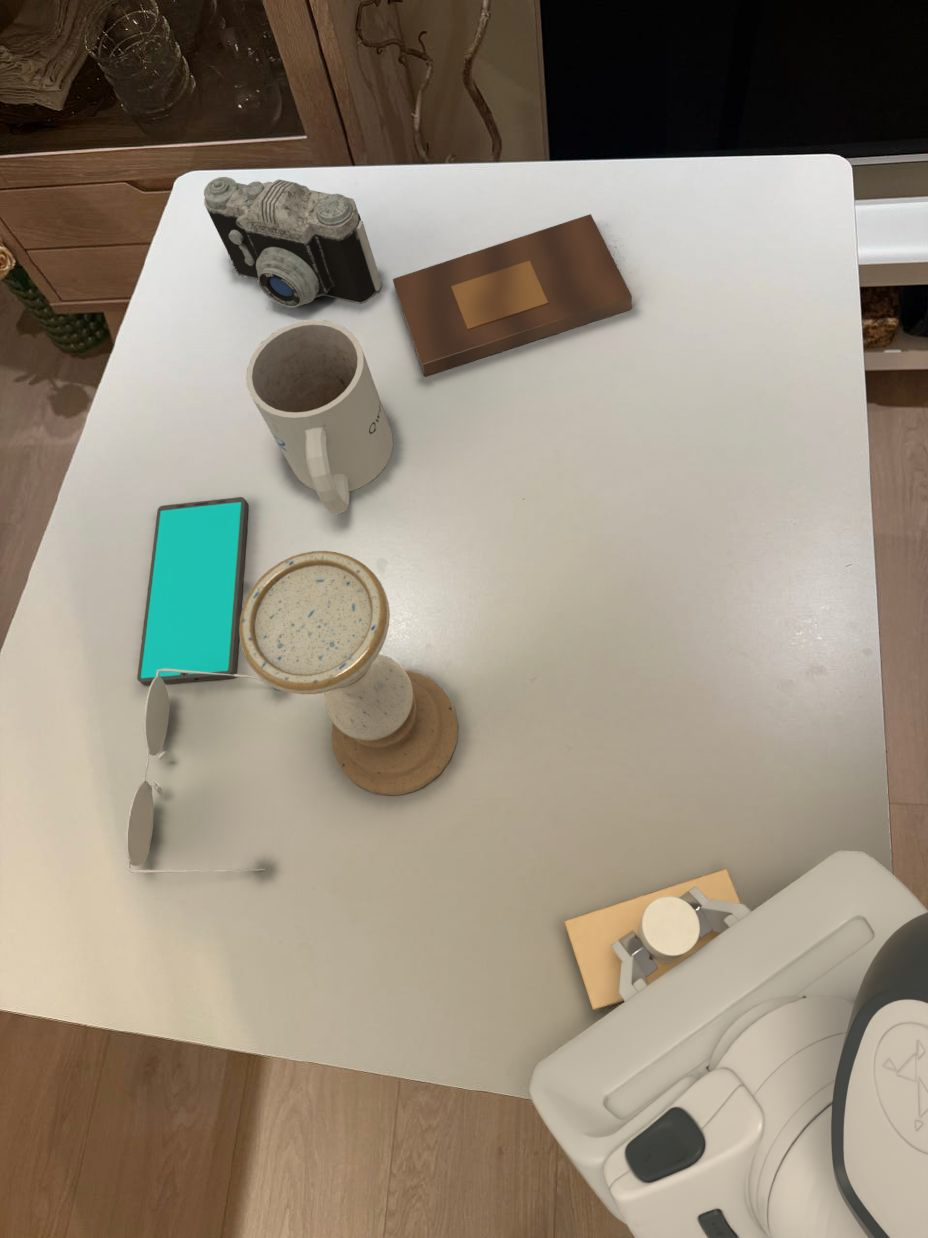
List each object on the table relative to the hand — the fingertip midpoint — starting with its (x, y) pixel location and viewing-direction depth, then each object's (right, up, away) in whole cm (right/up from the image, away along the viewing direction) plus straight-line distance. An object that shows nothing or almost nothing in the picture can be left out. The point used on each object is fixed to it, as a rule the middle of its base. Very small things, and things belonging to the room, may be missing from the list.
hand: (656, 924), depth 49 cm
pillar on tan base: (+1, -3, +6) cm, 6 cm away
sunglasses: (-28, +5, +14) cm, 32 cm away
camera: (-25, +46, +32) cm, 62 cm away
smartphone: (-31, +19, +20) cm, 42 cm away
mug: (-21, +29, +23) cm, 42 cm away
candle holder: (-15, +9, +14) cm, 22 cm away
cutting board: (-7, +44, +28) cm, 52 cm away
